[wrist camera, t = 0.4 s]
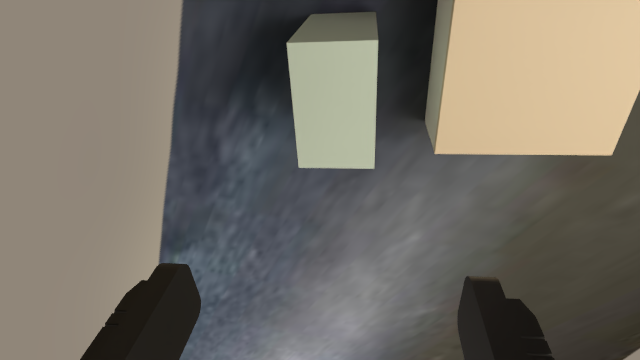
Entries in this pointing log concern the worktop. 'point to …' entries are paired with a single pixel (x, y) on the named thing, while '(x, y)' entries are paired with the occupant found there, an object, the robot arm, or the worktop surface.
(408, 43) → the worktop surface
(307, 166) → the sage carton
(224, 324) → the worktop surface
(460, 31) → the podium
